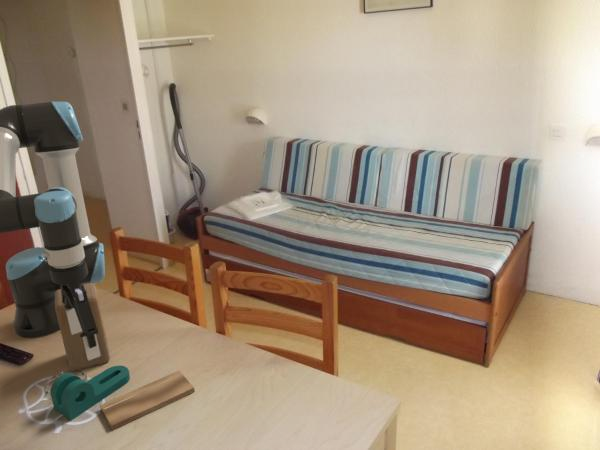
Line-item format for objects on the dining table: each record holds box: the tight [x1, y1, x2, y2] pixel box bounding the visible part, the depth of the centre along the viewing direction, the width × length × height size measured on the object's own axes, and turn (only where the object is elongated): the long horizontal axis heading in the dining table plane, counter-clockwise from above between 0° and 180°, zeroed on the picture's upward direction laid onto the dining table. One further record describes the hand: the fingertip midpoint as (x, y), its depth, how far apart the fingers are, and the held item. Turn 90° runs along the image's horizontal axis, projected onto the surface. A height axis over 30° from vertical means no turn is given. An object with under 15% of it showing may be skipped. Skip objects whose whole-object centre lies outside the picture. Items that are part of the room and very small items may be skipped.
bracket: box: [49, 365, 131, 422], centre depth 125 cm, size 18×7×8 cm, turn 145°
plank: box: [99, 370, 195, 431], centre depth 123 cm, size 8×20×1 cm, turn 127°
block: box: [55, 283, 111, 372], centre depth 136 cm, size 10×10×20 cm
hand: (85, 344), depth 120 cm, fingers open, 13 cm apart
